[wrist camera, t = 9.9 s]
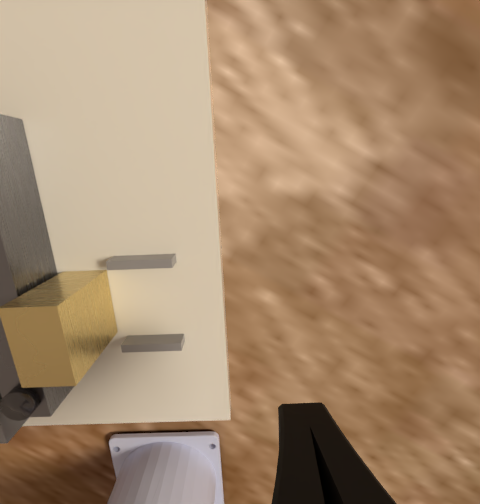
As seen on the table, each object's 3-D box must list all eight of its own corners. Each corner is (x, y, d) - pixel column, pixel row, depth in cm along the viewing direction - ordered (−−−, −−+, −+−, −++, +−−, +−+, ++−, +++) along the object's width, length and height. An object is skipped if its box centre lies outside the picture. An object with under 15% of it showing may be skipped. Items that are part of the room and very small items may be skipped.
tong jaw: (81, 377, 18) (43, 426, 15) (45, 378, 18) (-1, 427, 15) (22, 119, 14) (-51, 101, 10) (-24, 121, 14) (-112, 104, 10)
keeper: (117, 331, 17) (76, 385, 13) (77, 333, 17) (21, 387, 13) (106, 269, 16) (56, 306, 12) (63, 271, 16) (-3, 308, 12)
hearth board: (231, 405, 20) (228, 464, 16) (-45, 413, 20) (-115, 473, 16) (206, 2, 14) (192, -70, 10) (-198, 22, 14) (-378, -39, 10)
